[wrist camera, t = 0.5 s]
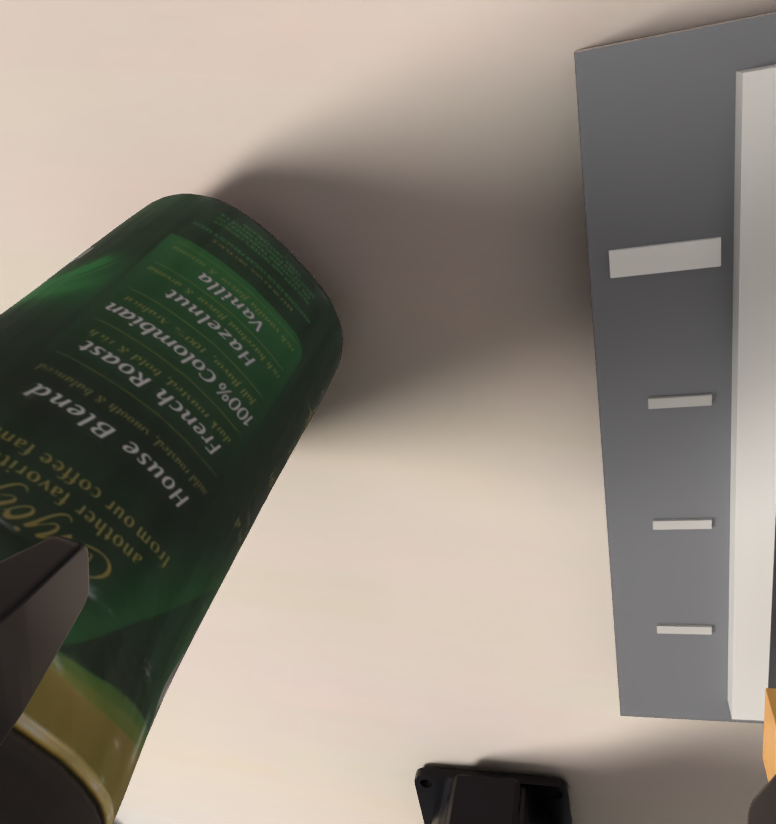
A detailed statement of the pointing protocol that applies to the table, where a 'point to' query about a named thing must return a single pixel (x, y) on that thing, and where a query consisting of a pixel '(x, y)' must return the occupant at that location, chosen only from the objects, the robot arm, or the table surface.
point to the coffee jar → (145, 466)
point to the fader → (770, 733)
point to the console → (686, 358)
